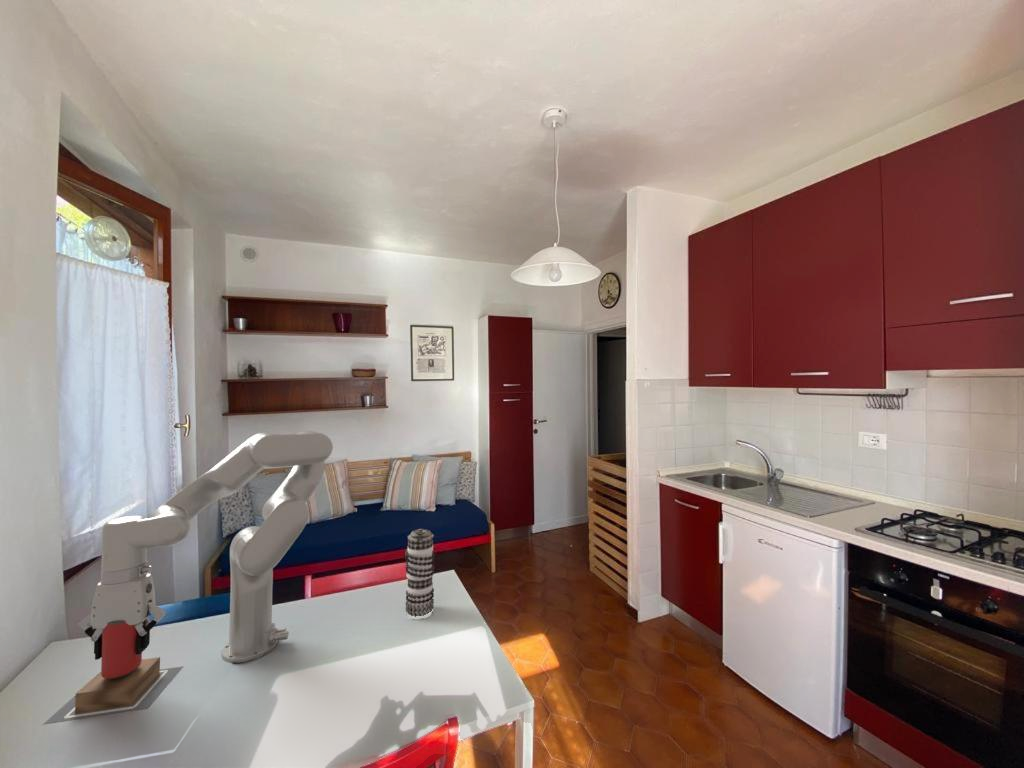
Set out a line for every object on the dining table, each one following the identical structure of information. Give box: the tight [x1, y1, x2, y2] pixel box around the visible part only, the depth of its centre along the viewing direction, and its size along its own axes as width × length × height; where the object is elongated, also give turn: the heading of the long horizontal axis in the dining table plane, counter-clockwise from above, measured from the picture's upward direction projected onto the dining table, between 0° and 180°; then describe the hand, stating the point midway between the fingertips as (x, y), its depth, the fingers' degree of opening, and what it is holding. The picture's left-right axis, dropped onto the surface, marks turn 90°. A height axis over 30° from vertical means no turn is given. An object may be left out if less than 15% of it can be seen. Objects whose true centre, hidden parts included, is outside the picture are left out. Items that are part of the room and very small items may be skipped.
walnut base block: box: [75, 656, 161, 713], centre depth 92 cm, size 10×10×4 cm
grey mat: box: [43, 666, 184, 725], centre depth 92 cm, size 18×14×1 cm
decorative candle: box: [404, 528, 436, 617], centre depth 127 cm, size 9×9×25 cm
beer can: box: [100, 621, 143, 679], centre depth 92 cm, size 7×7×12 cm
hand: (122, 652), depth 92 cm, fingers open, 6 cm apart
